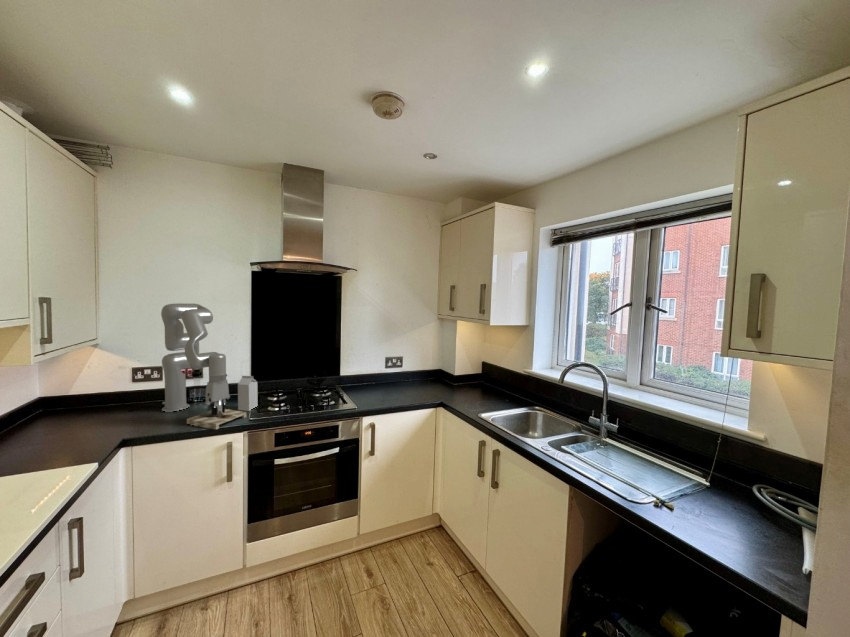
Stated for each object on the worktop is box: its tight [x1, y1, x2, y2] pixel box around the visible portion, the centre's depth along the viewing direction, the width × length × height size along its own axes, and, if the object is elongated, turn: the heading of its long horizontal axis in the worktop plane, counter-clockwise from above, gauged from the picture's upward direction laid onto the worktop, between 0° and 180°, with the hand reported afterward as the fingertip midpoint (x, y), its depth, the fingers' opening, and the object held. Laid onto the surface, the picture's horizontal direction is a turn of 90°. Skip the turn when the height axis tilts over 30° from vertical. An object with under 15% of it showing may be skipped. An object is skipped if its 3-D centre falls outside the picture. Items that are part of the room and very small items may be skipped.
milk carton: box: [237, 375, 259, 412], centre depth 192 cm, size 7×7×19 cm
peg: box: [213, 400, 225, 418], centre depth 173 cm, size 6×6×11 cm
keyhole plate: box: [186, 408, 247, 430], centre depth 173 cm, size 19×18×3 cm
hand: (218, 413), depth 173 cm, fingers closed on peg, 3 cm apart
